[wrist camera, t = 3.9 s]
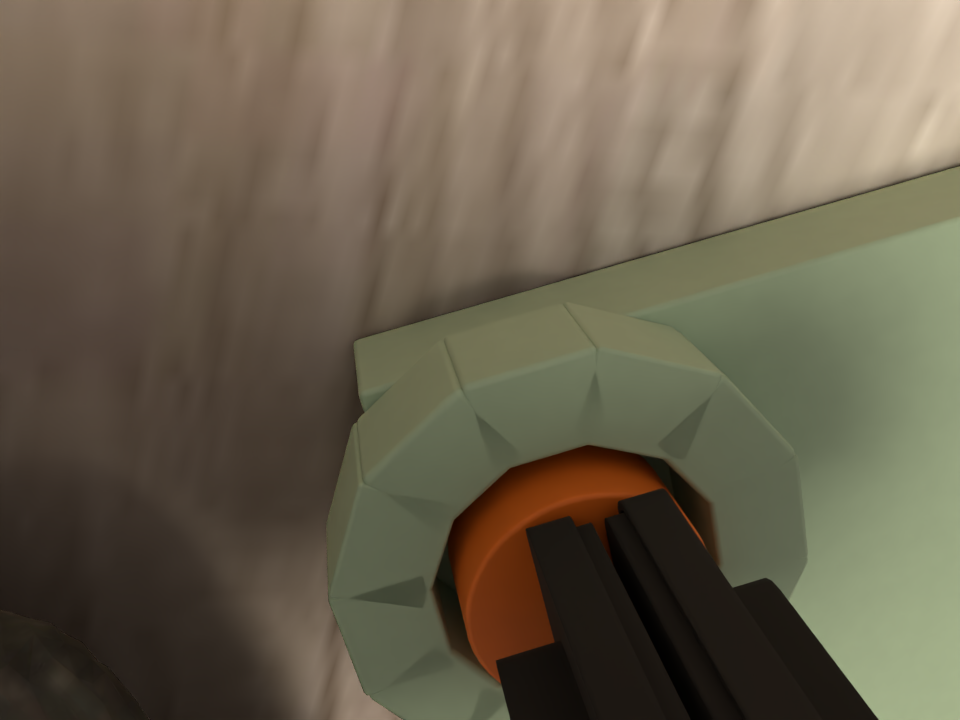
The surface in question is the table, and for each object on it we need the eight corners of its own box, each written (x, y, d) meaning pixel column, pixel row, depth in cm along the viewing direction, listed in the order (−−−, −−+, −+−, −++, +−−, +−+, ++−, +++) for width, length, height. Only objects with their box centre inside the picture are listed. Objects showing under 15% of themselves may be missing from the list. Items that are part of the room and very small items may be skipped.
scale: (468, 858, 18) (502, 1051, 14) (277, 329, 13) (266, 444, 10) (1080, 657, 18) (1242, 799, 15) (1111, 91, 14) (1354, 124, 10)
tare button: (477, 651, 13) (498, 736, 11) (420, 470, 11) (436, 540, 10) (681, 586, 13) (727, 662, 11) (648, 402, 11) (695, 461, 10)
